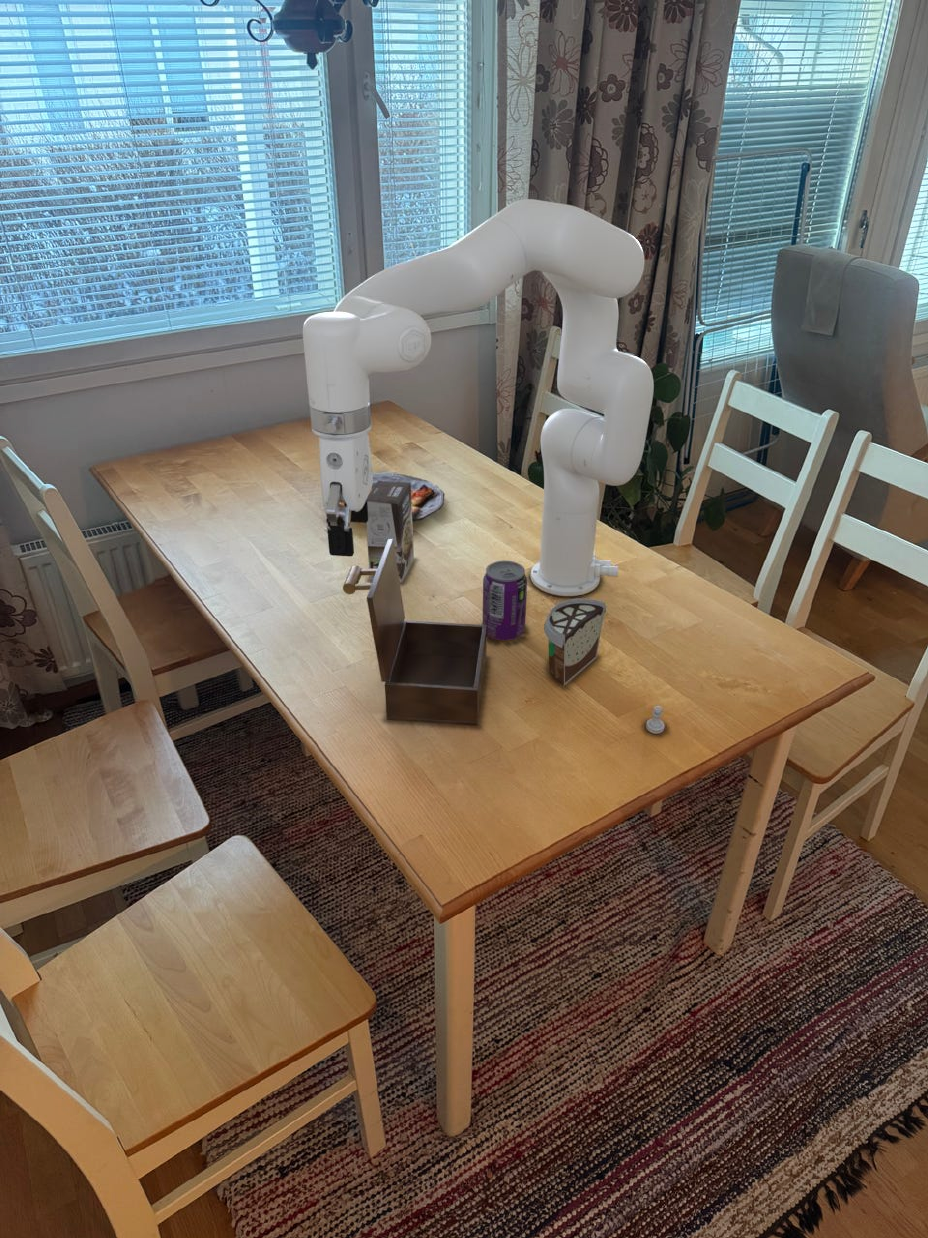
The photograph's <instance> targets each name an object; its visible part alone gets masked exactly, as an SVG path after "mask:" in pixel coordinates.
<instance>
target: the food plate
mask: <svg viewBox="0 0 928 1238" xmlns="http://www.w3.org/2000/svg"><path fill="white" fill-rule="evenodd" d="M372 475H373V484H372V488H371V490H370V492H371V491H372V489H373V488H374V486H375V485H376V483H377V482H378V481H387V482H390V481H391V482H407V483H411V501H412V523H414V522H419V521H422V520H424V519H426V518H427V517H429V516H431V515H432V514H434V513H437V511H439V510H440V509H442V507H443V506H444V505H445V492H444V491H443V490H442V489H441V488H439V486H438V485H436V484H434V483H432V482H431V481H430V480H427V479H422V478H419V477H414V476H412V475H406V474H402V473H397V472H386V471H383V472H374V473H372ZM369 494H370V493H369ZM339 506H344V503H340V504H339ZM339 517H344V518H345V512H339Z"/></svg>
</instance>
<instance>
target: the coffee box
mask: <svg viewBox="0 0 928 1238" xmlns="http://www.w3.org/2000/svg"><path fill="white" fill-rule="evenodd" d="M367 503H368V521H367V522H366V523H365V525H366V527H365V528H366V541H367V542H366V543H367V555H368V569H377V568H378V565H379V563H380V560H381V557H382V554H383V552H384V549H385V546H386V543H387V541H388V539H393V541H394V548H395V554H396V561H397V568H398V574H399V581H400V584H402V583H403V582H404V580H405V579H406V576H407V575H408V572H409V570H410V568H411V567H412V564H413V563H414V560H415V554H414V551H415V549H414V531H413V530H414V528H413V522H412V501H411V483H407V482H391V481H390V482H387V481H378V482H377V483H376V485H375V486H374V488H373V489H372V491H371V492H370V494H369V495H368V497H367ZM374 576H375V575H369V580H370V581H373V579H374Z"/></svg>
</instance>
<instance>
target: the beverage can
mask: <svg viewBox="0 0 928 1238" xmlns="http://www.w3.org/2000/svg"><path fill="white" fill-rule="evenodd" d="M527 594H528V578H527V575H526V570H525V567H524V566H523V565H522V564H521V563H519V562H516V561H513V560H496V561H494V562H491V563H489V564H488V565H487V567H486V569H485V574H484V576H483V579H482V623H481V625H487V637H489V638H490V639H493V640H497V641H513V640H516V639H518V638H520V637H522V636H523V635H524V633H525V631H526V617H527V616H526V615H527V613H526V612H527V599H528V598H527V596H528V595H527Z"/></svg>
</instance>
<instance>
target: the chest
mask: <svg viewBox="0 0 928 1238" xmlns="http://www.w3.org/2000/svg"><path fill="white" fill-rule="evenodd" d="M487 637H488V636H487V625H482V624H475V623H474V624H472V623H457V622H441V621H440V622H438V621H436V622H435V621H420V620H406V619H405V620H404V623H403V627H402V630H401V634H400V637H399V641H398V644H397V648H396V651H395V655H394V658H393V662H392V665H391V669H390V672H389V676H388V679H387V682H384V685H383V686H384V697H385V698H384V699H385V714H386V715H385V716H386V721H397V722H413V723H428V724H443V725H457V726H459V725H461V726H471V727H472V726H473V727H477V726H478V724H479V716H480V709H481V700H482V693H483V685H484V679H485V672H486V665H487V664H486V663H487V641H488V640H487V639H488V638H487Z"/></svg>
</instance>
